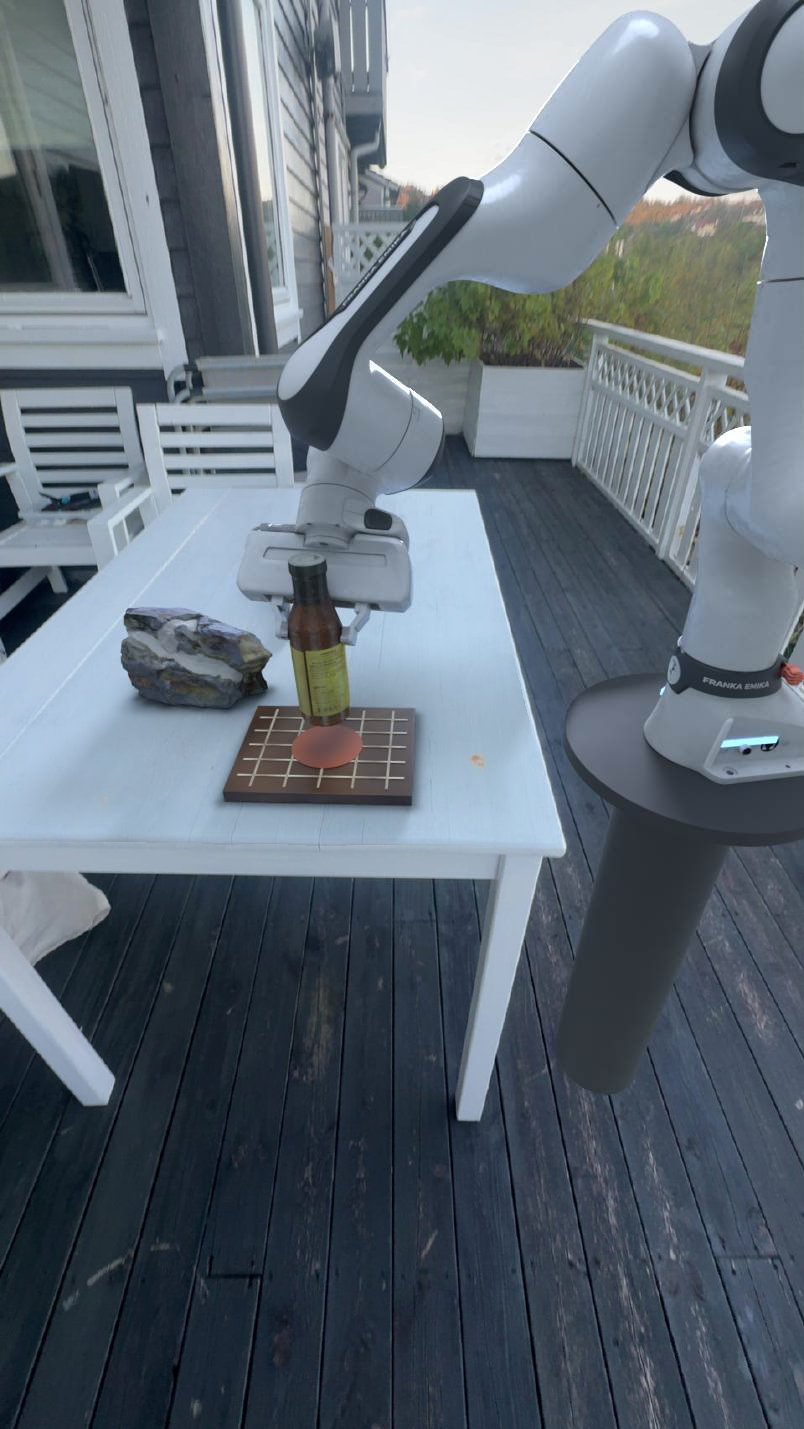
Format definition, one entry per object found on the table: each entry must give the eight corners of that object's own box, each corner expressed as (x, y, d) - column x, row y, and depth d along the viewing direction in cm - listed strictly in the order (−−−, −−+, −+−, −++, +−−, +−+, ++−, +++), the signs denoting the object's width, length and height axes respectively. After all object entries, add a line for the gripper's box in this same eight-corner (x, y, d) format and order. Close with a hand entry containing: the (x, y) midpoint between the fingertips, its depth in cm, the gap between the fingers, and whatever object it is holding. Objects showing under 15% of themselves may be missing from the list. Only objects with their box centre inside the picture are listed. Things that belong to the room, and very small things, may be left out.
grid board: (415, 716, 87) (415, 707, 86) (411, 805, 72) (411, 795, 71) (259, 714, 88) (257, 704, 87) (224, 801, 73) (221, 790, 72)
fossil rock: (274, 705, 96) (278, 624, 87) (247, 744, 89) (249, 661, 79) (152, 667, 98) (144, 583, 88) (117, 703, 91) (103, 616, 81)
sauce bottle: (360, 707, 78) (353, 553, 66) (335, 734, 73) (323, 574, 62) (314, 695, 80) (300, 544, 69) (288, 721, 75) (267, 563, 64)
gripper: (239, 509, 71) (217, 624, 69) (416, 518, 68) (399, 640, 65) (259, 534, 77) (239, 641, 75) (422, 545, 74) (407, 657, 72)
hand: (315, 641), depth 70 cm, fingers closed on sauce bottle, 6 cm apart
